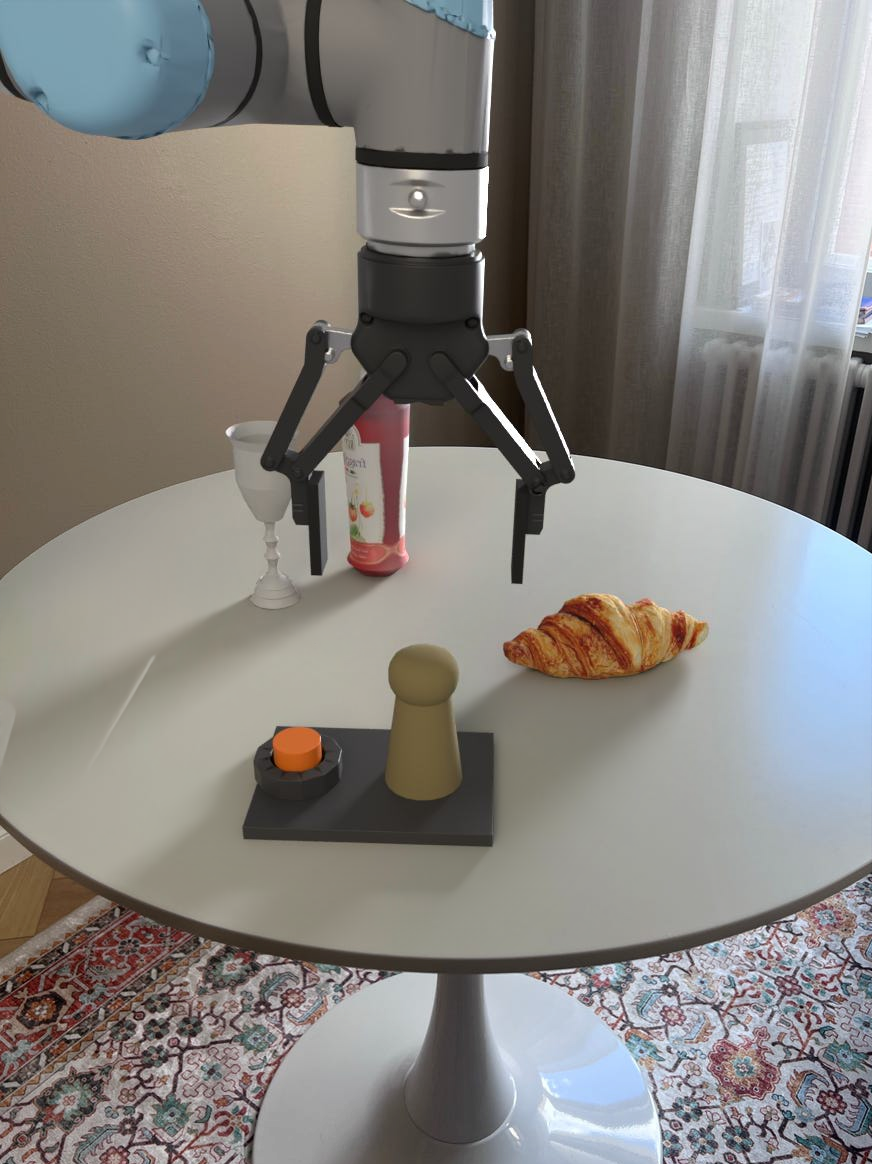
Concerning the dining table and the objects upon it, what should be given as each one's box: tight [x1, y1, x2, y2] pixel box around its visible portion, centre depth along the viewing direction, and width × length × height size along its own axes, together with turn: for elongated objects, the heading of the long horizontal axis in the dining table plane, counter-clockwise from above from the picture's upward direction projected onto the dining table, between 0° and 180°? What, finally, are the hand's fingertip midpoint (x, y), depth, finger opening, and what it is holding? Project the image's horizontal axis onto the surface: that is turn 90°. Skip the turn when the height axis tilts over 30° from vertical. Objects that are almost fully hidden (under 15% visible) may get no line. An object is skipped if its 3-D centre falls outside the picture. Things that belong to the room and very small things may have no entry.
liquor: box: [338, 364, 411, 578], centre depth 108 cm, size 7×7×28 cm
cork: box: [385, 643, 463, 800], centre depth 76 cm, size 6×6×11 cm
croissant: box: [502, 592, 710, 680], centre depth 97 cm, size 21×10×8 cm, turn 109°
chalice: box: [225, 420, 301, 610], centre depth 103 cm, size 7×7×18 cm
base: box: [241, 725, 494, 848], centre depth 79 cm, size 18×13×3 cm
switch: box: [273, 726, 322, 772], centre depth 78 cm, size 4×4×2 cm
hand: (418, 571), depth 70 cm, fingers open, 13 cm apart
